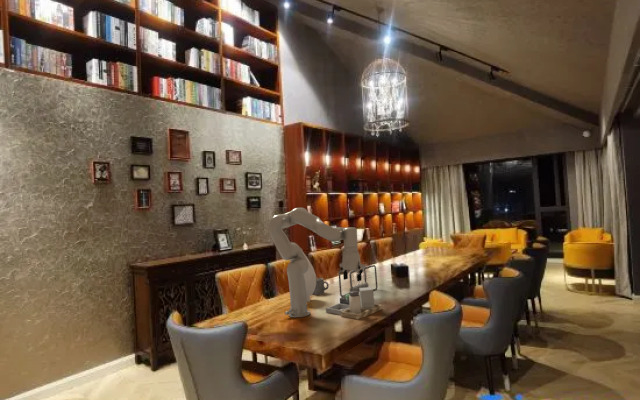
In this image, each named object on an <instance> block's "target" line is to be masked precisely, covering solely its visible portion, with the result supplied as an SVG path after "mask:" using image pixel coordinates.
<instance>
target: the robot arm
mask: <svg viewBox="0 0 640 400" xmlns="http://www.w3.org/2000/svg"><path fill="white" fill-rule="evenodd" d="M295 225H300V226H302V227H304V228H305V229H308V230H310V231H312V232H314V233H315V234H316V235H318V236H319V237H321V238H323V239H325V240H327V241H330V242H332V243H337V242H339V241H342V240H343V244H344V245H343V247H342V249H343V250H344V251H343V252H342V262H340V263H339V267H340V271H341V270H342V272H341V273H342V275H343V276H342V277H343V280H345V281H346V280H348V279H349V273H348V272H349V270H351V271H355V270H356V272H355V273H356V275H357V276H356V277H357V280H356V282H359V281H360V282H362V281H363V271H364V268H365V267H366V266H364V265H365V264H364V265H363V263H361V255H360V252H359V247H358V229H357V228H356V227H354V226H353V227H352V226H351V227H350V226H348V227H343V226H341V227H340V226H338V227H332V226H331V225H328V224H327V223H324V221H322V220H321V218H320V217H319V216H317V215H315V214H313V213H311V212H309V211H308V210H307V208H304V207H295V208H293V209H292V210H291V211H288V212H286V213H282V214H281V213H279V214H275V215H273V216H272V217H271V218H270V219H269V221H268V224H267V231H268V234H269V236H270V238H271V240H272V241H273V243H274V246H275V247H276V250H277V251H278V254H279V255H280V257H281V258H282V260H284V261H290V262H289V263H288V264H287V267H286V274H287V280H288V288H289V300H290V307H289V309H288V310H287V311H285V312H284V315H286V316H287V315H288V316H289V317H290V318H304V317H308V316H310V314H311V311H310V310H308V303H307V299H306V285H305V279H304V273H305V272H307V270H308V268H309V264H308V261H307V259H306V257H307V256H306V257H305V256H304V254H305V253H304V251H303V249H302V248H301V247H300V246H299V244H297V243H296V242H293V241H290V240H289V238H288V236H287V234H286V233H285V232H284V231H283V229H286V228H289V227H292V226H295ZM302 251H303V252H302ZM303 253H304V254H303ZM347 270H348V271H347ZM358 270H359V271H358ZM351 271H350V272H351Z"/></svg>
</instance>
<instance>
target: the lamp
mask: <svg viewBox="0 0 640 400" xmlns="http://www.w3.org/2000/svg"><path fill="white" fill-rule="evenodd" d="M302 252H303V254H304V256H305V257H306V259H307V261H308V264H309V268H308V270H307V272H305V273H304V279H305V285H306V299H307V302H310V301H311V300H312V299H311V296H312V293H313V292H314V290H315V287H316V278H317V275H316V272H315V269H314V266H313V265H312V263H311V261H310V260H309V258H308V256H307V255H306V254H305V252H304V251H303V250H302Z"/></svg>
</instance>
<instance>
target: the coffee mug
mask: <svg viewBox="0 0 640 400" xmlns="http://www.w3.org/2000/svg"><path fill="white" fill-rule="evenodd" d="M325 284H326V286H325ZM329 287H330V286H329V282H328V281H327V280H326V281H325V280H324V278H323V277H316V287H315V290H314V292H313V293H312V295H313V296H319V295H323V294H325V291H326V290H328V289H329ZM312 295H311V296H312Z"/></svg>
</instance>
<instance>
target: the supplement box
mask: <svg viewBox="0 0 640 400" xmlns="http://www.w3.org/2000/svg"><path fill="white" fill-rule="evenodd" d="M373 289H374V288H373V287H371V286H368V287H367V288H359V294H360V305H361V308H365V309H371V308H374V307H375V306H374V304H375V295H374V294H375V293H374V291H373Z"/></svg>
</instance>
